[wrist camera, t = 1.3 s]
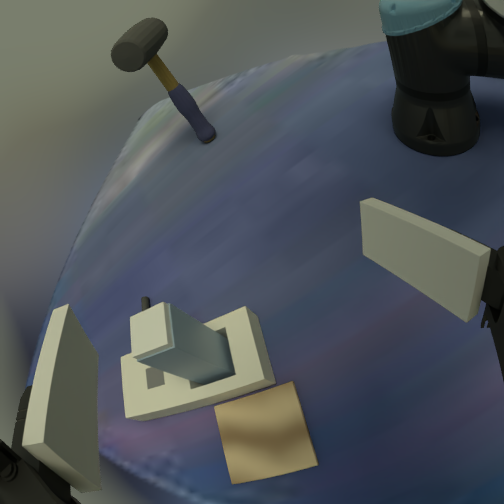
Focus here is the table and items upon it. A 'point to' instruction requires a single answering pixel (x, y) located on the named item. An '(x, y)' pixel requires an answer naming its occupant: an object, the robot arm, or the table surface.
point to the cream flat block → (192, 393)
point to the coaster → (265, 435)
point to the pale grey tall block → (180, 345)
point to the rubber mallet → (158, 69)
